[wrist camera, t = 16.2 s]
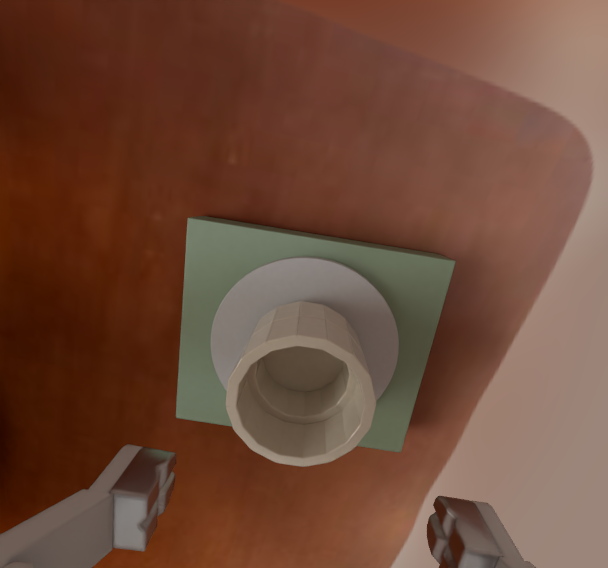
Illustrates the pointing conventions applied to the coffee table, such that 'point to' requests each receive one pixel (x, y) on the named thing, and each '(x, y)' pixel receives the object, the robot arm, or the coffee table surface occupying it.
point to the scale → (315, 289)
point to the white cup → (301, 387)
